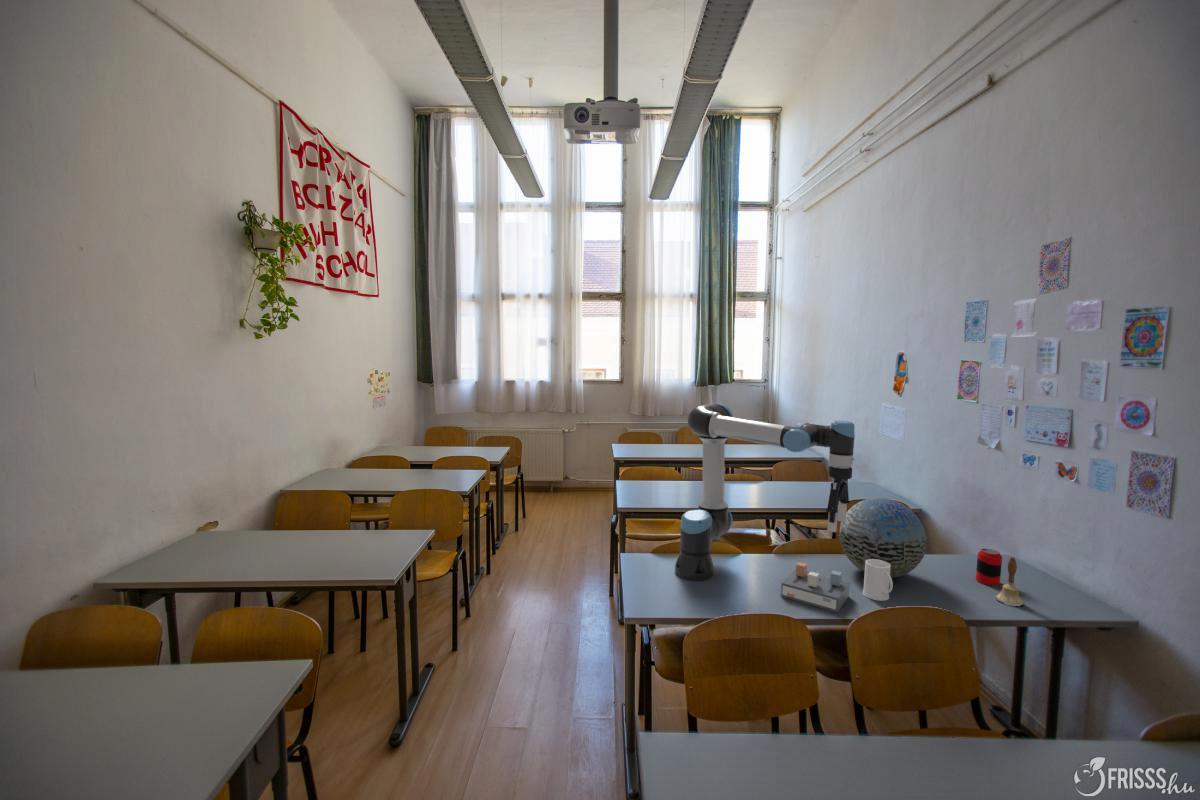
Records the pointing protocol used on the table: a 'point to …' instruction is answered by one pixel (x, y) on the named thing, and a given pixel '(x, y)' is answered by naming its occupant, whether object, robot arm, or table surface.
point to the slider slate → (836, 578)
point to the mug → (877, 580)
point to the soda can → (989, 567)
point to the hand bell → (1010, 586)
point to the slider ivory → (813, 579)
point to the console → (815, 592)
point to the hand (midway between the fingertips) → (836, 526)
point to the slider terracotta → (801, 569)
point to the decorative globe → (883, 535)
